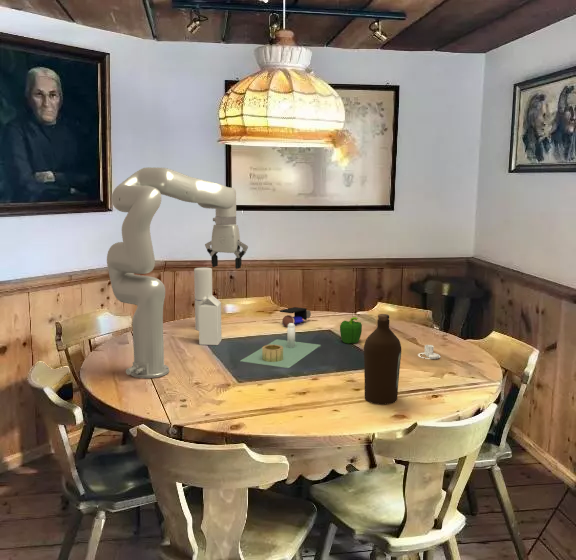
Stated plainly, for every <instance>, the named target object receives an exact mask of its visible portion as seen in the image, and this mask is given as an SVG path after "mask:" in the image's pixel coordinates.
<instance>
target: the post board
mask: <svg viewBox="0 0 576 560" xmlns="http://www.w3.org/2000/svg"><path fill="white" fill-rule="evenodd" d="M286 328H287V330H286V332H287V333H286V334H287V336H286V337H287V338H286V339H287V340H286V339H274V340H273V341H271V342H269V343H267V345H280V346H283V360H281V361H278V362H268V361H264V360H263V359H262V347H261V348H259V349H258V350H256V351H254V352H253V353H251V354H249V355H246V357H244V358H243V359H241V360H240V362H241V363H243V362H244V363H249V364H256V365H258V364H259V365H265V366H272V367H277V368H285V369H289V368H291V367H292V366H294V365H296V363H298V362H299V361H301V360H302V359H304V358H305V357H306V356H308V355H309V354H311V353H313V351H315V350H316V349H318V348H322V345H321V344H317V343H309V342H303V341H301V342H300V341H296V324H293V323H289V324H288V326H287V327H286Z"/></svg>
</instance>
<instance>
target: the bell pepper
mask: <svg viewBox="0 0 576 560" xmlns="http://www.w3.org/2000/svg"><path fill="white" fill-rule="evenodd" d="M354 320H355V321H354ZM357 320H358V317H354V316H352V317H350V320H349V321H348V320H342V322H341V323H340V325H339V332H340V338H341V341H342V343H345V344H357V343H359V341H360V340H361V339H360V338H361V336H362V331H363V324H362V322H360V321H357Z"/></svg>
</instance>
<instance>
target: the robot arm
mask: <svg viewBox="0 0 576 560" xmlns="http://www.w3.org/2000/svg"><path fill="white" fill-rule="evenodd" d="M162 196H166V197H169V198H174V199H175V200H178V201H182V202H185V203H193V204H198V206H199V207H201V208H203V209H207V210H208V209H211V210H214V209H215V217H213V218H212V222H214V224H213V225H212V226H213V228H212V231H211V240H210V241H208V242H206V243H205V244H204V246H205V248H206V252H207V253H208V254H209V256H210V257H211V268H215V267H218V265H219V264H218V263H219V262H218V261H219V259H218V258H219V257H218V255H217V254H218V253H227V254H234V255H235V260H234V262H235V264H234V265H235V266H234V267H235V269H237V270H238V269H241V268H242V262H243V261H242V259H243V257H244V255H245V254H246V253H247V251H248V248H249V246H248V245H246V243H244V242H242V241H241V236H240V231H239V230H240V229H239V225H237V191H236V189H235V187H228V186H226V185H223V184H222V183H221V184H220V183H216V182H213V181H208V180H205V179H201V178H198V177H194V176H189V175H188V174H187V175H186V174H183V173H182V172H178V171H176V170H174V169H171V168H168V167H167V168H166V167H143V168H141V169H139V170H137V171H135V172H134V173H132V174H131V175H130V176H129V177H127V178H126V179H125V180H123V181H122V182H121V183H119V184H118V185H117V186H116V187H115V188H114V190H113V191H112V194H111V204H112V206H113V207H114V209H116V210H117V211H118V212H122V213H127V214H126V216H125V217H124V220H123V222H122V225H121V236H122V237H121V238H122V241H117V242H116V243H113V244H112V245H111V246H110V247H109V248H108V251H107V253H106V265H107V270H108V275H109V279H110V285H111V289H112V292H113V293H112V294H113V295H114V297H115V298H116V300H117V301H119V302H120V303H123V304H129V305H135V306H137V307H136V309H135V311H134V314H133V317H132V341H133V345H132V346H133V361H132V366H130V367H128V368H126V370H125V373H126V375H128V376H129V375H130V376H131V377H134V378H139V379H153V378H160V377H163V376H165V375H167V374H169V372H170V367H169V366H168V365H166V364H165V347H164V342H165V341H164V303H165V298H166V286H165V284H164V283H163V282H162V280H160V279H159V278H157V277H154V276H149V275H148V276H147V275H146V274H149V273H151V272H152V271H154V268H155V264H156V263H155V262H156V259H155V254H154V253H155V252H154V247H153V241H152V236H151V223H152V221H153V218H154V216H155V214H156V213H157V212H158V210H159V208H160V206H161V204H162ZM241 248H242V249H241Z"/></svg>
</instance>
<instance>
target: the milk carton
mask: <svg viewBox="0 0 576 560" xmlns="http://www.w3.org/2000/svg"><path fill="white" fill-rule="evenodd" d="M201 301H202V303H201V304H200V305H199V331H198V337H199V338H198V341H199V342H198V345H199V346H200V345H201V346H202V345H205V346H219V345H220V343H221V341H222V302H221V301H220V300H219V299H218V298H216V297H215V296H214V295H213V291H212V292H211V293H210V294H209V295H208V298H206V296H205V297H204V298H202V299H201Z"/></svg>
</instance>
